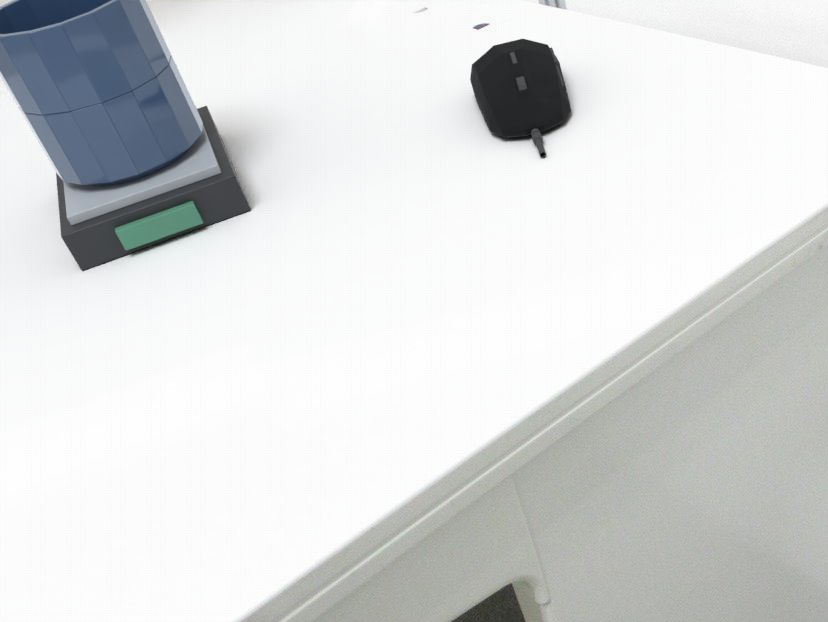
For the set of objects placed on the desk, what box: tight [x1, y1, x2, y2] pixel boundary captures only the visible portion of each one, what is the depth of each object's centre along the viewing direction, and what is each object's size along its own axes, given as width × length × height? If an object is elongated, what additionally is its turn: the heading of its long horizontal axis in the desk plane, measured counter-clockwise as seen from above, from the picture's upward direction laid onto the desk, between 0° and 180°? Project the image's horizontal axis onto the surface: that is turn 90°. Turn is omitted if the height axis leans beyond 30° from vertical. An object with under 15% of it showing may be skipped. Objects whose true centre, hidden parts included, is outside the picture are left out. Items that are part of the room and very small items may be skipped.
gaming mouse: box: [469, 38, 572, 159], centre depth 73 cm, size 6×15×4 cm, turn 13°
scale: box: [55, 105, 252, 272], centre depth 73 cm, size 15×11×3 cm
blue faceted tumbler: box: [0, 0, 203, 186], centre depth 69 cm, size 10×10×10 cm
